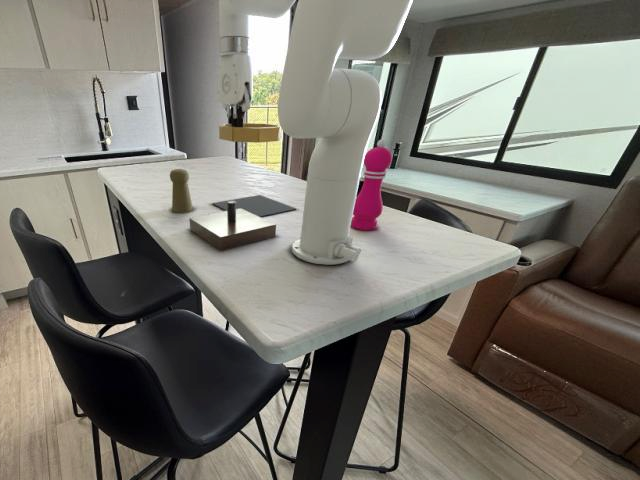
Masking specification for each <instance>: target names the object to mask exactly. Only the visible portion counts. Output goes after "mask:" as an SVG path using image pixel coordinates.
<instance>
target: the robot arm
mask: <svg viewBox="0 0 640 480" xmlns="http://www.w3.org/2000/svg"><path fill="white" fill-rule="evenodd" d="M296 1H297V0H218V13H219V14H218V21H219V23H218V24H219V28H218V29H219V60H218V67H217V68H218V69H217V102H218V103H219V104H220V105H222V106H221V107H222V108H223V109H224V110H225V111H226V118H227V124H230V123H232V127H243V123H244V119H245V115H246V114H245V113H246V112H247V111H249V110H250V109H251V103H252V102H253V93H254V92H253V91H254V77H253V74H254V73H253V61H252V35H253V34H252V32H253V31H252V30H253V29H252V28H253V16H255V17H263V18H268V19H269V18H271V19H278V18H281V17H282V16H284V15H286V13H287V12H288V11H289V10H290V9H291V8H292V7H293V5H294V4H295V2H296ZM413 1H414V0H298V1H297V4H296V7H295V11H294V12H295V13H294V16H293V20H292V24H291V30H290V35H289V41H288V45H287V50H286V56H285V60H284V61H285V62H284V66H283V70H282V71H283V72H282V77H281V82H280V87H279V94H278V98H277V99H278V100H277V118H278V122H279V125H280V126H281V128H282V131H283V133H284V134H285V135H286V136H289V137H290V138H294V139H319V140H317V143H316V145H315V146H314V149H313V150H312V153H311V156H310V159H309V162H308V168H307V177H306V184H305V185H306V187H305V195H304V203H303V211H302V213H303V214H302V220H301V221H302V223H301V231H300V237H299V238H298V239H296V240H295V241H294V242H292V245H291V252H292V253H293V255H294V256H296V257H297V258H298V259H300V260H302V261H304V262H307V263H311V264H317V265H325V266H328V265H331V266H332V265H333V266H334V265H340V264H344V263H346V262H349V261H351V262H352V263H354V262H356V261H357V260H358V258H359V255H360V254H361V253H362V248H360V247H358V246H356V245H353V238H354V237H353V236H352V235H350V230H351V227H352V226H351V221H352V218H353V217H354V215H353V211H354V206H355V201H356V198H357V196H358V189H359V185H360V180H361V177H362V176H361V175H362V170H363V166H364V158H365V155H366V153H367V149H368V146H369V142H370V139H371V136H372V133H373V131H374V128H375V126H376V124H377V120H378V118H379V114H380V112H381V107H382V102H383V101H382V99H383V98H382V97H383V95H382V88H381V86H380V83H379V82H378V80H377V79H376V77H375V76H373V75H372V74H371V73H369V72H367V71H364V70H361V69H355V68H354V69H353V68H340V67H339V68H337V67H335V65H336V63H337V60H351V61H352V60H353V61H373V60H377V59H381V58H382V57H384V56H385V55H386V54H388V53H389V52H390V50H391V49H392V48H393V47H394V45H395V43H396V41H397V40H398V38H399V36H400V34H401V31H402V29H403V26H404V24H405V21H406V19H407V16H408V14H409V11H410V9H411V6H412V4H413Z"/></svg>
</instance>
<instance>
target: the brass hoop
mask: <svg viewBox="0 0 640 480" xmlns="http://www.w3.org/2000/svg"><path fill="white" fill-rule="evenodd" d="M282 131H283V130H282V128H281V126H280V124H274V123H266V122H265V123H263V122H261V123H260V122H257V123H256V122H243V127H232V123H230V124H228V123H222V124H220V125H218V135H219V136H218V137H219V140H222V141H227V142H234V143H256V144H257V143H260V144H261V143H272V142H279V141H280V140H281V139H282V134H283V133H282Z"/></svg>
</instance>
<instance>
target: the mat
mask: <svg viewBox="0 0 640 480" xmlns="http://www.w3.org/2000/svg"><path fill="white" fill-rule="evenodd" d="M228 201H235V202H236V209H240V208H241V209H243V210H246V211H248V212H250V213H252V214H254V215H257V216H259V217H261V218H264V217H269V216H273V215H278V214H283V213H287V212H292V211H296V210H297V208H295V207H294V206H293V207H292V206H290V205H287V204H284V203H283V202H279V201H276V200H274V199H271V198H269V197H266V196H264V195H261V194H259V195H253V196H247V197H241V198H235V199H230V200H224V201H218V202H213V203H212V205H213V206H215V207H217V208H219V209H220V210H223V211H227V202H228Z"/></svg>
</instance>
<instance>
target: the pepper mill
mask: <svg viewBox="0 0 640 480" xmlns="http://www.w3.org/2000/svg"><path fill="white" fill-rule="evenodd" d="M385 146H386V140H384V139H379V140H378V141H377V143H376V147H373V148H370V149H369V150H368V151H366V153H365V157H364V162H363V166H364V167H365V169H364V170H363V174H362V176H363V177H364V178H363V184H362V187H361V190H360V192H359V193H358V194H357V195H356V201H355V206H354V211H353V216H352V221H351V226H350V227H352V228H354V229H356V230H361V231H373V230H375V229H376V228H377V225H378V220H377V219H378V218H379V217H381V215H382V213H383V209H384V208H383V206H384V204H383V199H382V193H381V192H382V183H383V180H384V179H385V178H386V177H387V176H386V174H387V169H388V168H389V167H390V166H391V164H392V161H393V154H392V152H391V151H390V149H388V148H387V147H385Z"/></svg>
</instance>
